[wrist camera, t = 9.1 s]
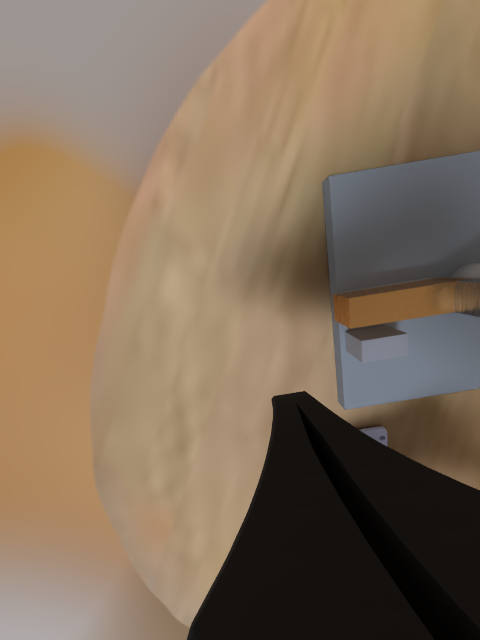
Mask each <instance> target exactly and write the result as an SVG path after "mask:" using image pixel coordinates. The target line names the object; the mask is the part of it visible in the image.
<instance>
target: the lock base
mask: <svg viewBox="0 0 480 640" xmlns="http://www.w3.org/2000/svg"><path fill="white" fill-rule="evenodd" d="M322 184H323V198H324V212H325V225H326V239H327V253H328V266H329V280H330V293H331V307H332V321H333V334H334V348H335V361H336V375H337V389H338V402H339V403H340V404H341V406H342V407H343V408H344V409H345V410H347V409H353V408H359V407H366V406H372V405H378V404H384V403H391V402H397V401H403V400H409V399H416V398H422V397H428V396H434V395H441V394H447V393H453V392H460V391H466V390H472V389H478V388H480V317H476V316H471V315H466V314H461V313H456V312H452V313H446V314H440V315H433V316H427V317H421V318H414V319H408V320H402V321H395V322H389V323H383V324H376V325H370V326H364V327H357V328H351V329H350V328H348V327H346V326H344V325H342V324H340V323H338V322H336V321H334V307H333V294H337V293H344V292H350V291H356V290H363V289H369V288H375V287H381V286H388V285H394V284H400V283H407V282H413V281H419V280H425V279H432V278H438V277H453V278H478V279H480V151H475V152H469V153H463V154H457V155H451V156H445V157H440V158H434V159H428V160H422V161H416V162H410V163H404V164H398V165H392V166H386V167H380V168H374V169H368V170H363V171H357V172H351V173H345V174H339V175H333V176H329V177H328V178H327V179H326V180H325V181H324V182H323V183H322Z"/></svg>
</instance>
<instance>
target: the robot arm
mask: <svg viewBox="0 0 480 640" xmlns="http://www.w3.org/2000/svg"><path fill="white" fill-rule="evenodd" d="M272 406H273V422H272V431H271V437H270V442H269V446H268V451H267V455H266V459H265V463H264V466H263V470H262V473H261V476H260V479H259V482H258V485H257V488H256V491H255V494H254V496H253V499H252V502H251V504H250V507H249V509H248V512H247V514H246V517H245V519H244V521H243V523H242V525H241V528H240V530H239V532H238V534H237V536H236V539H235V541H234V543H233V545H232V547H231V550H230V552H229V554H228V556H227V558H226V560H225V562H224V564H223V566H222V568H221V570H220V572H219V573H218V575H217V577H216V579H215V581H214V583H213V585H212V586H211V588H210V590H209V592H208V594H207V596H206V598H205V600H204V601H203V603H202V605H201V607H200V609H199V611H198V613H197V614H196V616H195V618H194V620H193V622H192V624H191V627H190V630H189V634H188V637H187V640H480V490H477V489H475V488H473V487H470V486H468V485H466V484H463V483H461V482H459V481H456V480H454V479H452V478H450V477H448V476H446V475H443V474H441V473H439V472H437V471H435V470H432V469H430V468H428V467H426V466H424V465H422V464H420V463H418V462H416V461H414V460H412V459H410V458H408V457H406V456H404V455H402V454H400V453H398V452H397V451H395V450H393V449H391V448H389V447H388V440H387V430H386V429H385V428H384V427H382V426H378V427H372V428H365V429H357V428H355V427H354V426H352V425H351V424H349V423H348V422H346V421H345V420H343V419H342V418H340V417H339V416H338V415H336V414H335V413H333V412H332V411H331V410H329V409H328V408H327V407H325V406H324V405H323V404H321V403H320V402H319V401H317V400H316V399H315V398H313V397H312V396H311V395H309V394H308V393H307V392H305V391H303V392H296V393H290V394H284V395H278V396H274V397H273V398H272ZM381 436H382V437H381Z"/></svg>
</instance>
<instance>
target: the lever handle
mask: <svg viewBox="0 0 480 640" xmlns="http://www.w3.org/2000/svg"><path fill="white" fill-rule="evenodd" d="M333 307H334V321H336V322H338V323H340V324H342V325H344V326H346V327H348V328H350V329H351V328H357V327H364V326H370V325H376V324H383V323H389V322H395V321H402V320H408V319H414V318H421V317H427V316H433V315H440V314H446V313H452V312H456V313H461V314H466V315H471V316H476V317H480V279H478V278H453V277H438V278H432V279H425V280H419V281H413V282H407V283H400V284H394V285H388V286H381V287H375V288H369V289H363V290H356V291H350V292H344V293H337V294H333Z"/></svg>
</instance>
